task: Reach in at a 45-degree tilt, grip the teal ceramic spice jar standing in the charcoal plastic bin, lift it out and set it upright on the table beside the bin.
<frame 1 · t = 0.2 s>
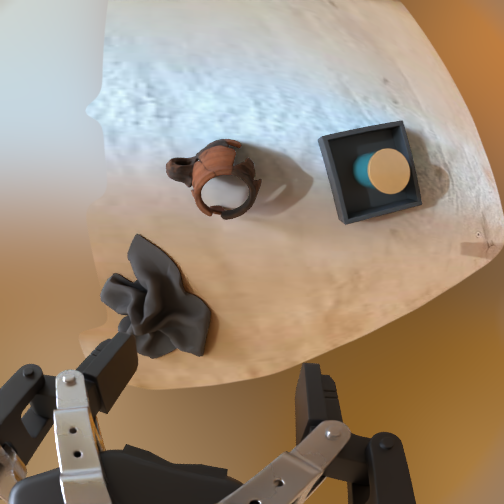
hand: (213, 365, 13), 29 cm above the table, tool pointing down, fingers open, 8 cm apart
cloth: (151, 303, 45), on the table
bin: (367, 170, 37), on the table
spice jar: (368, 170, 36), resting on bin
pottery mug: (218, 174, 39), on the table
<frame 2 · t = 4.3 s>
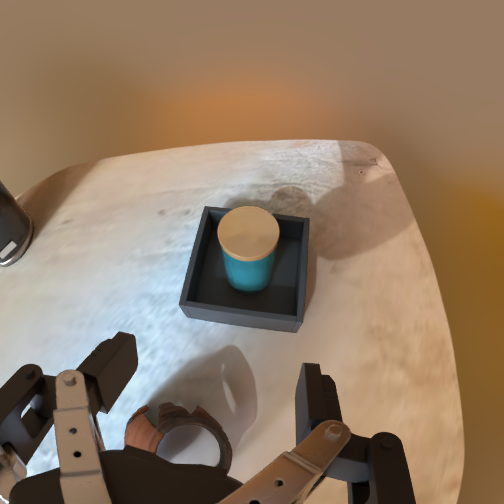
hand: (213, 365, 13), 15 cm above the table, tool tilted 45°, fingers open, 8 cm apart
bin: (248, 275, 32), on the table
spice jar: (248, 273, 31), resting on bin
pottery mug: (171, 450, 23), on the table
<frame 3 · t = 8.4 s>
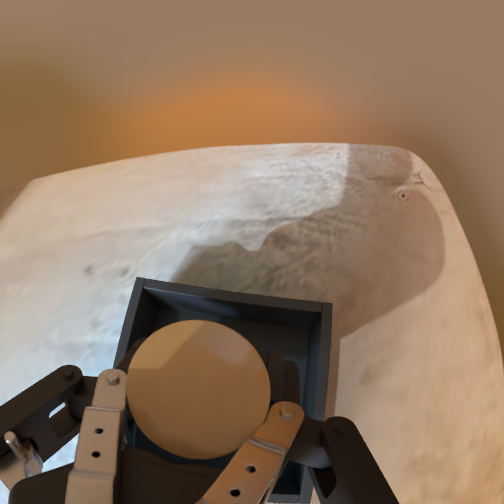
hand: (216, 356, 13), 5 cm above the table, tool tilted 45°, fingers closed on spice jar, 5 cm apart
bin: (220, 395, 17), on the table
spice jar: (220, 395, 16), point 1 cm above the table, touching bin, gripper
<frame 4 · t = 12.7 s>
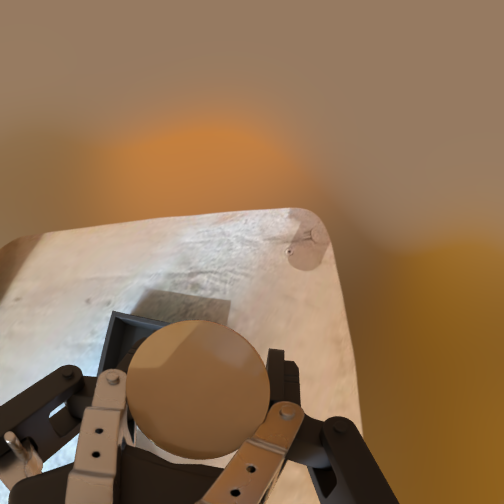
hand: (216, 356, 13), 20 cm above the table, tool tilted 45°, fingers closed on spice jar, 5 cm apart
bin: (156, 373, 31), on the table
spice jar: (219, 395, 16), point 16 cm above the table, touching gripper
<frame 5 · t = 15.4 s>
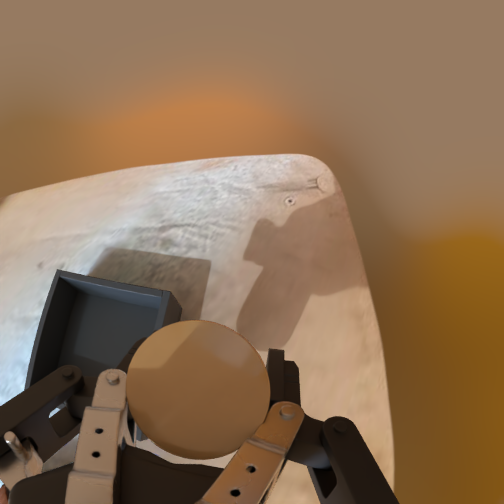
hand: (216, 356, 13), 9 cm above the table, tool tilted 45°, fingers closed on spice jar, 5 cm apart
bin: (109, 356, 22), on the table
spice jar: (219, 395, 16), point 5 cm above the table, touching gripper
when the fingers open (4 cm above the table, at t = 17.3 s): spice jar stays where it is, on the table.
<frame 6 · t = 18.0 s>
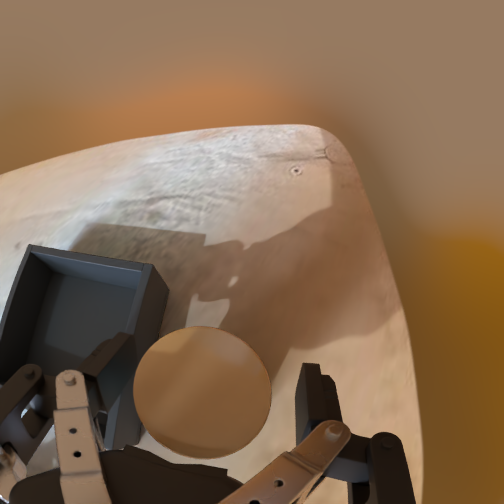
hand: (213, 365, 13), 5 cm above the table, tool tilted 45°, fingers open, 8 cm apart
bin: (84, 346, 18), on the table
spice jar: (222, 396, 17), on the table
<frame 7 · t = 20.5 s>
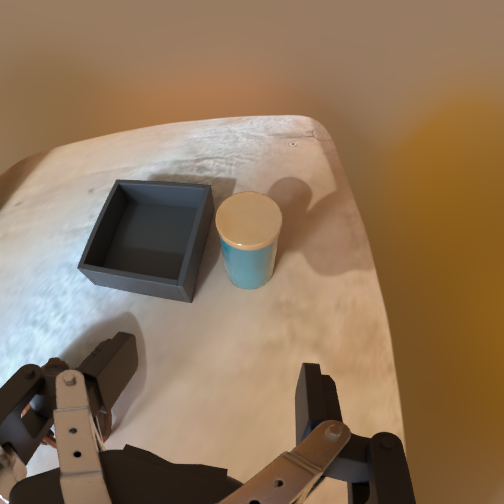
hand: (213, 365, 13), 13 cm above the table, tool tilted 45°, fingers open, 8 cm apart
bin: (153, 245, 30), on the table
spice jar: (249, 267, 29), on the table
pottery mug: (71, 412, 21), on the table
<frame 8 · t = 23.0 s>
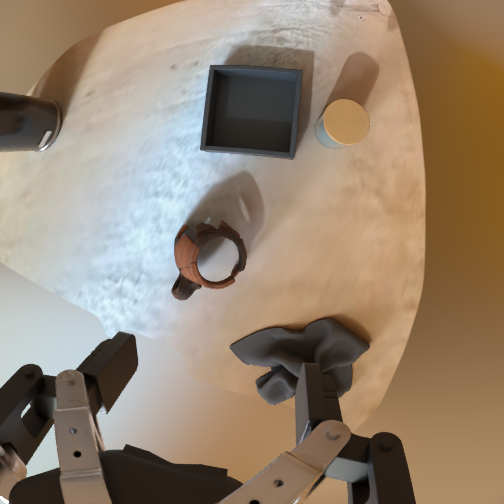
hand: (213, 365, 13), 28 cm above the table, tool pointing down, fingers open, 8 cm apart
cloth: (298, 365, 45), on the table
bin: (253, 114, 35), on the table
spice jar: (333, 131, 35), on the table
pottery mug: (206, 253, 41), on the table
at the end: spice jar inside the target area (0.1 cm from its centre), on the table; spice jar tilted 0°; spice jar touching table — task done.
